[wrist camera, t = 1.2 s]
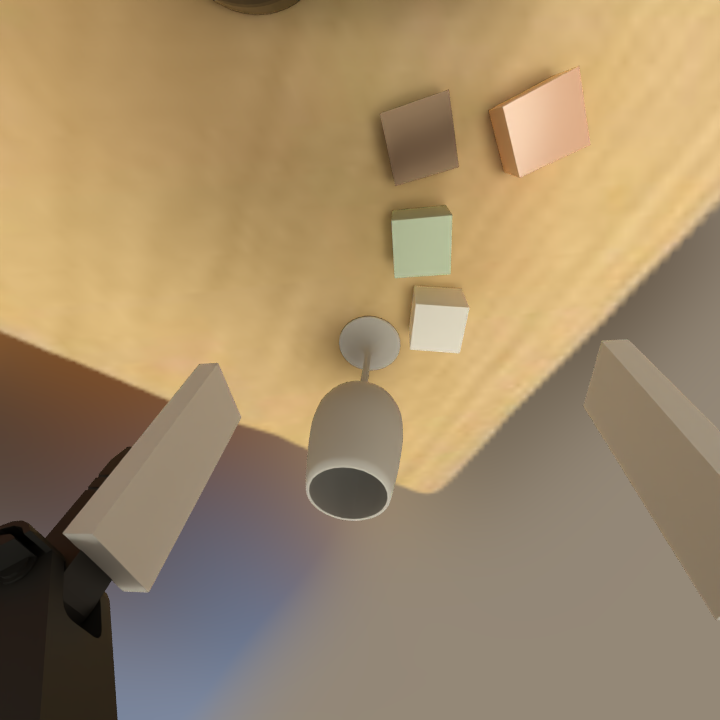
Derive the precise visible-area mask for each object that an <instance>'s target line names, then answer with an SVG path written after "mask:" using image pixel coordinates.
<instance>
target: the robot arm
mask: <svg viewBox="0 0 720 720" xmlns="http://www.w3.org/2000/svg"><path fill="white" fill-rule="evenodd" d="M214 1H215V2H217V3H219V4H221V5H223V6H225V7H227V8H229V9H232V10H234V11H238V12H241V13H247V14H269V13H274V12H278V11H281V10H284V9H286V8H288V7H290V6H292V5H294V4H295V3H297V2H298V1H300V0H214ZM583 407H584V408H585V410H586V412H587V413H588V414H589V416H590V418H591V420H592V421H593V423H594V425H595V426H596V428H597V429H598V431H599V433H600V434H601V436H602V437H603V439H604V440H605V442H606V444H607V445H608V447H609V449H610V450H611V452H612V454H613V455H614V457H615V458H616V460H617V461H618V463H619V465H620V467H621V468H622V470H623V471H624V473H625V475H626V476H627V478H628V479H629V481H630V483H631V484H632V486H633V487H634V489H635V491H636V492H637V494H638V496H639V497H640V499H641V500H642V502H643V504H644V505H645V507H646V508H647V510H648V512H649V513H650V515H651V517H652V518H653V520H654V521H655V523H656V525H657V526H658V528H659V530H660V531H661V533H662V534H663V536H664V538H665V539H666V541H667V542H668V544H669V546H670V547H671V549H672V550H673V552H674V554H675V555H676V557H677V559H678V560H679V562H680V563H681V565H682V567H683V568H684V570H685V572H686V573H687V575H688V576H689V578H690V580H691V581H692V583H693V584H694V585H695V588H696V589H697V591H698V592H699V594H700V596H701V597H702V599H703V600H704V602H705V604H706V605H707V607H708V608H709V610H710V612H711V614H712V615H713V617H714V618H715V620H719V621H720V430H719V429H718V428H717V427H716V426H715V425H714V424H713V423H712V422H711V421H709V420H708V418H707V417H706V416H705V415H704V414H702V412H701V411H699V410H698V408H696V406H695V405H693V403H692V402H690V401H689V399H688V398H687V397H685V396H684V395H683V394H682V393H681V392H680V391H679V389H677V388H676V387H675V386H674V385H673V384H672V383H671V382H670V381H669V380H668V379H667V378H666V377H665V376H664V375H663V374H662V373H661V372H660V371H659V370H658V369H657V368H656V367H655V366H654V365H653V364H652V363H651V362H650V361H649V360H648V359H647V358H646V357H645V356H644V355H643V354H642V353H641V352H640V351H639V350H638V349H637V348H636V347H635V346H634V345H633V344H632V343H631V342H630V341H629V340H628V339H625V340H608V341H602V342H601V345H600V349H599V352H598V356H597V359H596V363H595V367H594V370H593V373H592V377H591V381H590V384H589V388H588V391H587V395H586V398H585V402H584V406H583ZM240 419H241V416H240V413H239V411H238V409H237V406H236V404H235V401H234V399H233V397H232V394H231V392H230V390H229V387H228V385H227V383H226V380H225V378H224V376H223V373H222V371H221V369H220V366H219V364H218V363H209V364H199V365H198V366H197V368H196V369H195V370H194V371H193V372H192V374H191V375H190V376H189V377H188V379H187V380H186V381H185V382H184V384H183V385H182V386H181V387H180V389H179V390H178V391H177V392H176V393H175V395H174V396H173V397H172V398H171V400H170V401H169V402H168V403H167V405H166V406H165V407H164V408H163V410H162V411H161V412H160V413H159V414H158V416H157V417H156V418H155V419H154V421H153V422H152V424H150V426H149V427H148V428H147V429H146V431H145V432H144V433H143V434H142V435H141V437H140V438H139V439H138V441H137V442H136V443H135V444H134V445H133V447H127V448H126V449H124V450H123V451H122V452H121V453H119V454H118V455H117V456H115V457H114V458H113V459H112V460H111V461H110V462H109V463H108V464H107V465H106V466H105V468H104V469H103V470H102V471H101V472H100V474H99V477H98V478H95V480H94V481H93V482H92V483H91V485H90V486H89V487H88V490H85V492H84V493H83V494H82V495H81V496H80V498H79V499H78V500H77V501H76V502H75V503H74V505H73V506H72V507H71V508H70V509H69V511H68V512H67V513H66V514H65V515H64V517H63V518H62V519H61V520H60V521H59V523H58V524H57V525H56V526H55V527H54V528H53V530H52V531H51V532H50V533H49V534H48V536H47V537H46V538H44V537H43V536H42V535H41V534H40V533H39V532H38V531H36V530H35V529H34V528H33V527H32V526H31V525H30V524H29V523H26V522H24V521H13V522H10V523H7V524H5V525H2V526H0V720H117V706H116V691H115V676H114V661H113V647H112V631H111V616H110V601H109V598H108V595H107V593H105V590H106V588H107V587H108V585H109V583H110V582H111V580H112V581H113V582H114V583H115V584H116V585H117V586H118V587H119V588H120V589H121V590H122V591H132V592H149V591H150V589H151V587H152V585H153V583H154V581H155V580H156V578H157V576H158V574H159V572H160V570H161V568H162V566H163V564H164V563H165V561H166V559H167V557H168V555H169V553H170V551H171V549H172V547H173V545H174V544H175V542H176V540H177V538H178V536H179V534H180V532H181V530H182V528H183V527H184V525H185V523H186V521H187V519H188V517H189V515H190V513H191V512H192V510H193V508H194V506H195V504H196V502H197V500H198V498H199V496H200V495H201V493H202V491H203V489H204V487H205V485H206V483H207V481H208V479H209V477H210V476H211V474H212V472H213V470H214V468H215V466H216V464H217V462H218V460H219V458H220V457H221V455H222V453H223V451H224V449H225V447H226V445H227V444H228V442H229V440H230V438H231V436H232V434H233V432H234V430H235V428H236V426H237V425H238V423H239V421H240Z"/></svg>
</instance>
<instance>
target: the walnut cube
mask: <svg viewBox="0 0 720 720" xmlns="http://www.w3.org/2000/svg"><path fill="white" fill-rule="evenodd" d="M380 117H381V121H382V126H383V131H384V135H385V140H386V145H387V149H388V154H389V159H390V164H391V168H392V173H393V178H394V182H395V186H397V185H401V184H404V183H407V182H411V181H414V180H417V179H421V178H424V177H427V176H431V175H434V174H437V173H441V172H444V171H448V170H451V169H454V168H458V167H459V165H458V157H457V149H456V141H455V133H454V125H453V118H452V110H451V102H450V94H449V90H446V91H443V92H440V93H437V94H434V95H432V96H429V97H426V98H423V99H420V100H417V101H414V102H412V103H409V104H406V105H403V106H400V107H397V108H394V109H391V110H389V111H386V112H383V113H380Z"/></svg>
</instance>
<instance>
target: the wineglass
mask: <svg viewBox="0 0 720 720" xmlns="http://www.w3.org/2000/svg"><path fill="white" fill-rule="evenodd" d="M339 346H340V350H341V353H342V355H343V356H344V358H345V359H346V360H347V361H348V362H349V363H350V364H352V365H353V366H355V367H357V368H360V369H363V370H362V376H361V381H351V382H346V383H343V384H340V385H338V386H337V387H335V388H334V389H332V390H331V391H330V392H329V393H327V394H326V395H325V397H324V398H323V399H322V400H321V402H320V404H319V406H318V408H317V410H316V412H315V415H314V418H313V421H312V425H311V431H310V438H309V446H308V455H307V467H306V493H307V496H308V498H309V500H310V502H311V503H312V504H313V505H314V506H315V507H316V508H317V509H318V510H320V511H321V512H323V513H324V514H327V515H329V516H332V517H334V518H338V519H342V520H350V521H356V520H357V521H358V520H366V519H371V518H373V517H375V516H378V515H379V514H381V513H382V512H383V511H385V509H386V508H387V507H388V505H389V502H390V499H391V496H392V493H393V490H394V486H395V482H396V478H397V473H398V469H399V463H400V457H401V450H402V443H403V425H402V417H401V413H400V410H399V407H398V405H397V404H396V402H395V401H394V399H393V398H392V397H391V395H390V394H389V393H388V392H387V391H385V390H384V389H383V388H381V387H379V386H377V385H376V384H373V383H369V382H368V376H369V370H378V369H382V368H384V367H386V366H388V365H390V364H391V363H392V362H393V361H394V360H395V359H396V357H397V355H398V354H399V350H400V338H399V335H398V333H397V331H396V330H395V328H394V327H393V326H392V325H391V324H390V323H389V322H387V321H385V320H383V319H381V318H378V317H373V316H365V317H359V318H357V319H354V320H352V321H351V322H349V323H348V324H347V325H346V326H345V327H344V329H343V330H342V333H341V335H340V340H339Z"/></svg>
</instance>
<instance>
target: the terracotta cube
mask: <svg viewBox="0 0 720 720" xmlns="http://www.w3.org/2000/svg"><path fill="white" fill-rule="evenodd" d="M488 111H489V115H490V119H491V123H492V126H493V130H494V134H495V138H496V142H497V146H498V150H499V154H500V158H501V162H502V166H503V170H504V172H505V173H508V174H511V175H514V176H516V177H519V178H520V177H523V176H525V175H527V174H529V173H531V172H533V171H535V170H538V169H540V168H542V167H544V166H546V165H548V164H550V163H553V162H555V161H557V160H559V159H561V158H563V157H565V156H568V155H570V154H572V153H574V152H576V151H578V150H580V149H583V148H585V147H587V146H589V145H590V138H589V131H588V124H587V117H586V110H585V103H584V96H583V89H582V82H581V75H580V68H579V66H578V67H575V68H573V69H570V70H567V71H565V72H562V73H559V74H557V75H554V76H552V77H550V78H548V79H546V80H544V81H542V82H540V83H539V84H537V85H535V86H533V87H531V88H529V89H527V90H526V91H524V92H522V93H520V94H518V95H516V96H514V97H512V98H511V99H509V100H507V101H505V102H503V103H501V104H499V105H498V106H496V107H494V108H492V109H490V110H488Z"/></svg>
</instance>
